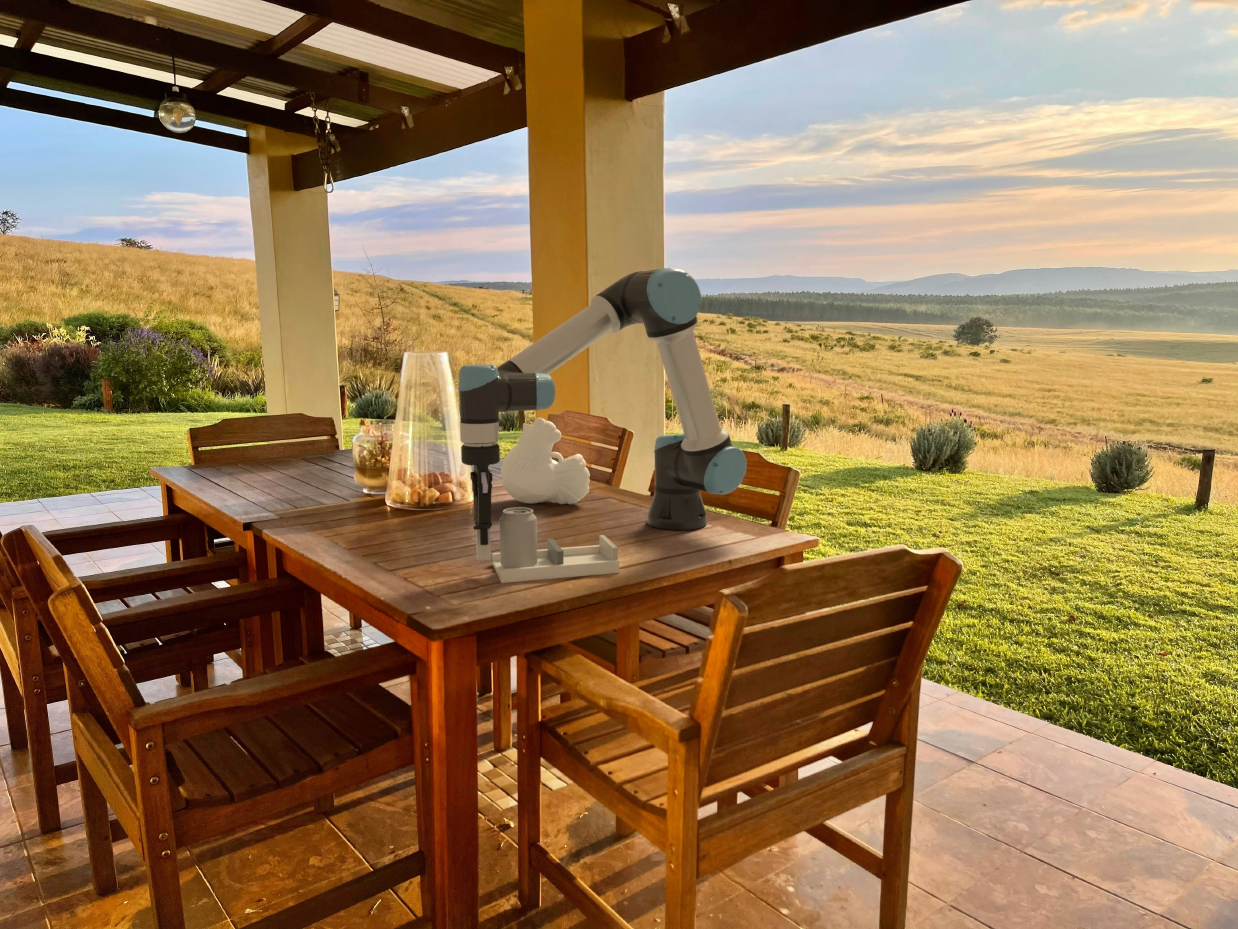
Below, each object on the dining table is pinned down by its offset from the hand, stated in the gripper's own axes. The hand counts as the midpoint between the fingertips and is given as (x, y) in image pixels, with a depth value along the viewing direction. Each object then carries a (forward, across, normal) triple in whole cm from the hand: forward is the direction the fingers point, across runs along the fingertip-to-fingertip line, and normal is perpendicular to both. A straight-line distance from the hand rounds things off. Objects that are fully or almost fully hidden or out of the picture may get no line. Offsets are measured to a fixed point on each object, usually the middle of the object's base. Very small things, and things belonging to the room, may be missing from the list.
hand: (483, 559), depth 164 cm
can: (+2, 0, -7) cm, 7 cm away
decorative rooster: (+4, +62, -24) cm, 67 cm away
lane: (+3, 0, -15) cm, 15 cm away
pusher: (+2, 0, -15) cm, 15 cm away
